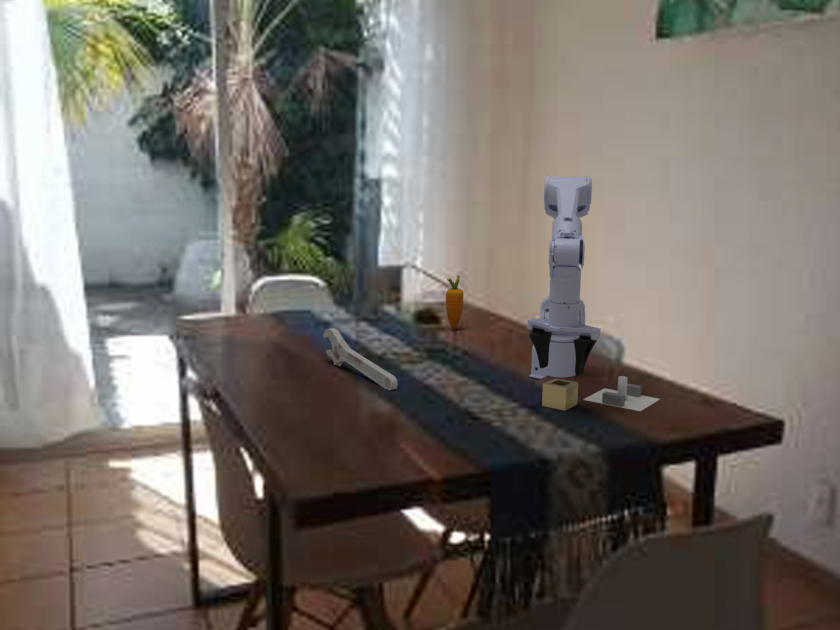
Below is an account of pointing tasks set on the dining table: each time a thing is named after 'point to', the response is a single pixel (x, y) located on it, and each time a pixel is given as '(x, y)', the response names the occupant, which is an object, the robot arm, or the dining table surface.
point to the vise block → (623, 396)
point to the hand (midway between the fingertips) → (561, 370)
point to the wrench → (357, 360)
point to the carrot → (454, 303)
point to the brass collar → (560, 394)
